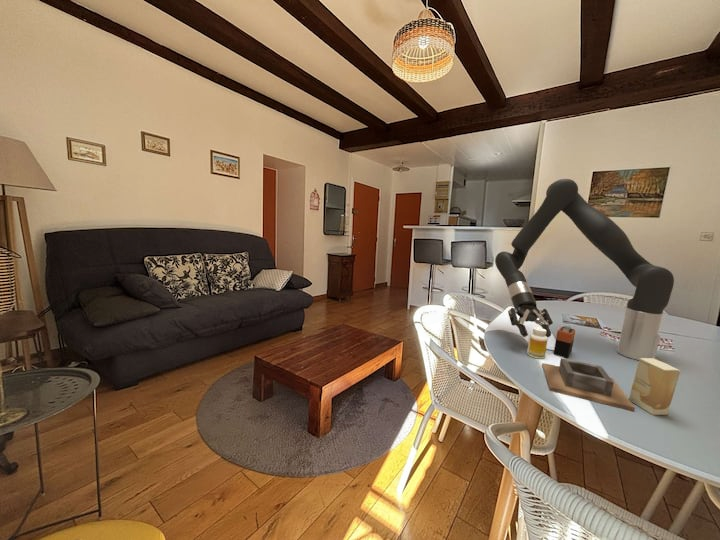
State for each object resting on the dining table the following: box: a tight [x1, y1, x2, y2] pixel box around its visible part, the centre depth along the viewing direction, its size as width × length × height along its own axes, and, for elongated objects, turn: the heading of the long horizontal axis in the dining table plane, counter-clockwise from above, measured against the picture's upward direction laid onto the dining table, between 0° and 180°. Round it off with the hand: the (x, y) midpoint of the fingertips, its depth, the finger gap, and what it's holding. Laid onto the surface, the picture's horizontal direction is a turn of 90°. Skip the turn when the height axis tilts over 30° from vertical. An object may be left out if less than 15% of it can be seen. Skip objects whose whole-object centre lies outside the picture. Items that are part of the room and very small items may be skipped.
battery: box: [553, 324, 576, 359], centre depth 103 cm, size 4×7×10 cm, turn 135°
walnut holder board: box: [541, 357, 636, 412], centre depth 83 cm, size 18×16×5 cm
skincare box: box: [628, 358, 681, 416], centre depth 73 cm, size 6×4×12 cm
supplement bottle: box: [526, 326, 549, 359], centre depth 101 cm, size 5×5×10 cm
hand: (537, 336), depth 101 cm, fingers open, 8 cm apart
